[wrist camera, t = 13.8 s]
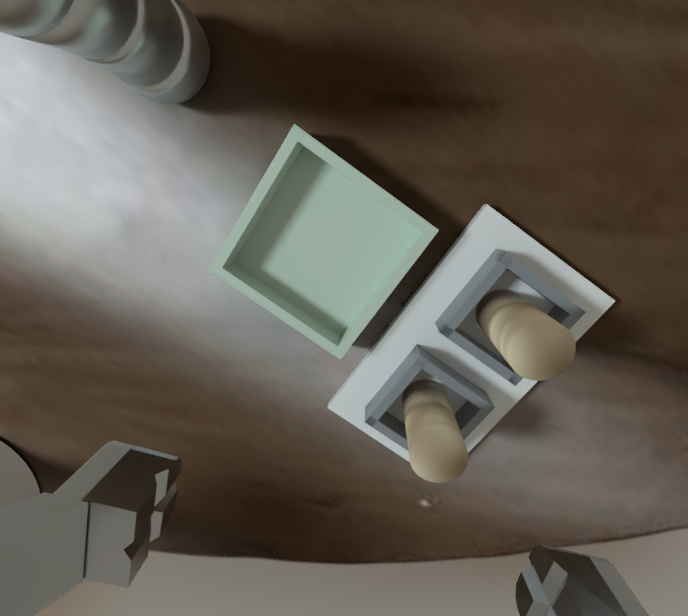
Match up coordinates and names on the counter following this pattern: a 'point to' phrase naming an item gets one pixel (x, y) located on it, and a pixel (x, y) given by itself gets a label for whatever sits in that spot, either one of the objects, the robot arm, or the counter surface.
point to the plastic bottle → (121, 40)
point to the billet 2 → (525, 335)
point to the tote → (321, 244)
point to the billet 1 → (433, 433)
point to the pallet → (464, 333)
